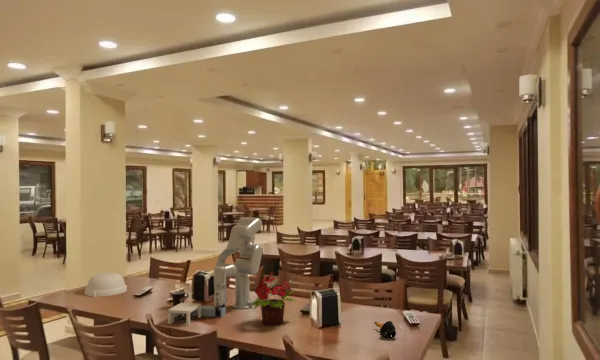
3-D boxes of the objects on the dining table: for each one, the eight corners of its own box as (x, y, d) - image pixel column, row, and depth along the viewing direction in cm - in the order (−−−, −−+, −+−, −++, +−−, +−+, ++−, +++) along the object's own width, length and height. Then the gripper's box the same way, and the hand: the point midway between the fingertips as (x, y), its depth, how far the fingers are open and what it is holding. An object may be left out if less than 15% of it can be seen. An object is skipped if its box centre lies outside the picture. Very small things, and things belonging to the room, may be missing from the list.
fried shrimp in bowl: (386, 332, 225) (364, 313, 240) (388, 347, 230) (366, 328, 245) (399, 323, 229) (377, 305, 243) (401, 338, 234) (379, 320, 248)
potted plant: (267, 314, 275) (267, 266, 276) (304, 320, 262) (304, 270, 262) (237, 327, 250) (237, 274, 250) (277, 335, 236) (276, 279, 237)
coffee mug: (173, 310, 286) (173, 294, 286) (170, 306, 293) (170, 291, 293) (191, 307, 291) (191, 292, 291) (188, 304, 299) (188, 289, 299)
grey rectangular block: (225, 314, 275) (225, 307, 275) (221, 317, 269) (221, 310, 269) (191, 312, 281) (191, 305, 281) (186, 314, 275) (186, 307, 275)
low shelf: (201, 317, 269) (201, 303, 269) (188, 325, 254) (188, 311, 254) (181, 315, 272) (181, 302, 272) (167, 323, 257) (167, 309, 257)
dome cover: (100, 286, 355) (100, 269, 356) (134, 287, 351) (134, 270, 352) (75, 296, 324) (75, 277, 324) (112, 297, 320) (112, 278, 320)
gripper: (220, 289, 264) (220, 319, 264) (230, 283, 281) (231, 311, 280) (208, 288, 265) (208, 318, 265) (220, 282, 282) (220, 310, 282)
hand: (220, 314), depth 273 cm, fingers closed on grey rectangular block, 6 cm apart
